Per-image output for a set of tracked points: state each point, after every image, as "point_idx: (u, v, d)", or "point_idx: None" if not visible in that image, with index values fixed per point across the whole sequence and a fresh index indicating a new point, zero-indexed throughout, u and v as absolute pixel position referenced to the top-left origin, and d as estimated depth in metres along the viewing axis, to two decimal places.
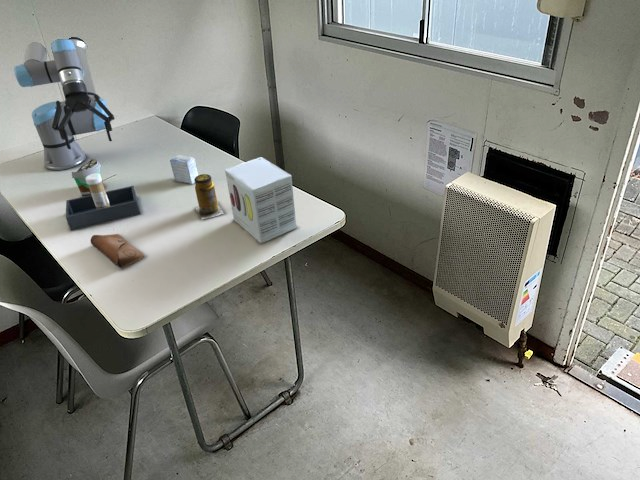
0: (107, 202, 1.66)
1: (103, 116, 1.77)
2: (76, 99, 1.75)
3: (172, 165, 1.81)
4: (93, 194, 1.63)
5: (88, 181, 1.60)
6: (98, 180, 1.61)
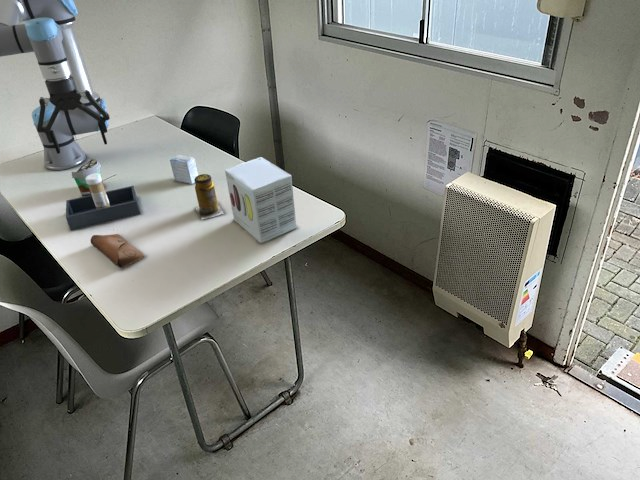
0: (107, 202, 1.66)
1: (97, 118, 1.52)
2: (64, 97, 1.46)
3: (172, 165, 1.81)
4: (93, 194, 1.63)
5: (88, 181, 1.60)
6: (98, 180, 1.61)
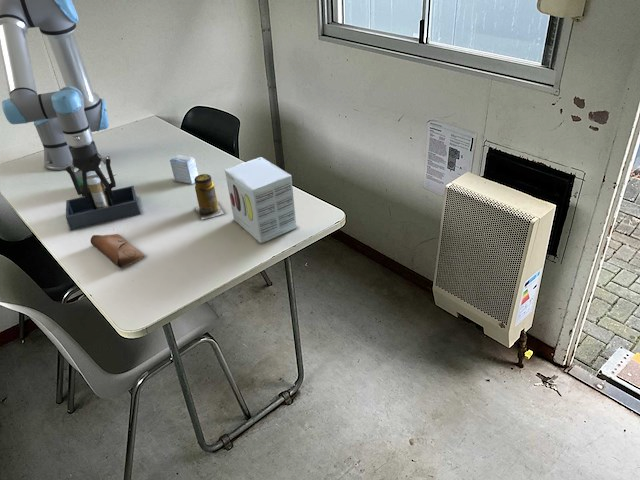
0: (107, 202, 1.66)
1: (106, 185, 1.63)
2: (86, 160, 1.57)
3: (172, 165, 1.81)
4: (93, 194, 1.63)
5: (88, 181, 1.60)
6: (98, 180, 1.61)
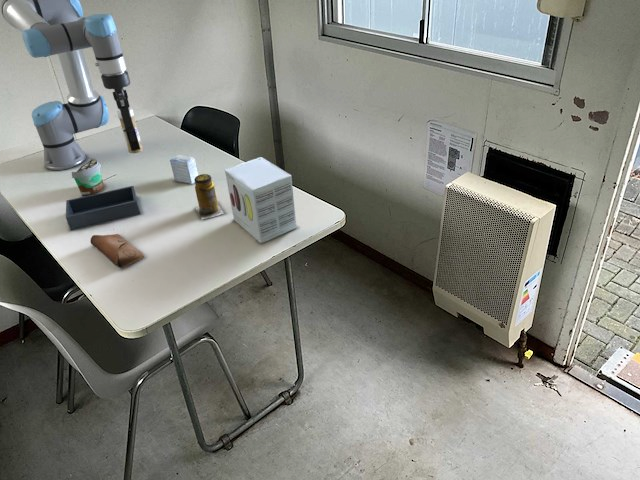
0: None
1: None
2: (115, 91, 1.51)
3: (172, 165, 1.81)
4: None
5: None
6: (120, 115, 1.53)
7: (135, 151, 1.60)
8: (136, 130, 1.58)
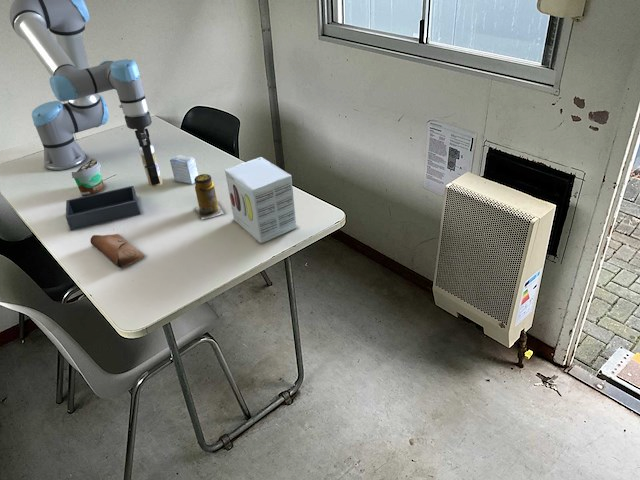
0: None
1: None
2: (137, 130, 1.59)
3: (172, 165, 1.81)
4: None
5: None
6: (141, 152, 1.62)
7: (155, 185, 1.68)
8: (156, 165, 1.66)
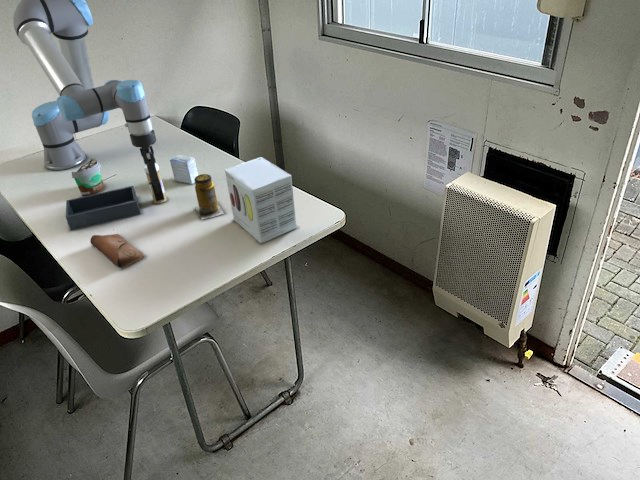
0: None
1: None
2: (142, 148, 1.63)
3: (172, 165, 1.81)
4: None
5: None
6: (146, 170, 1.65)
7: (160, 202, 1.72)
8: (161, 183, 1.70)
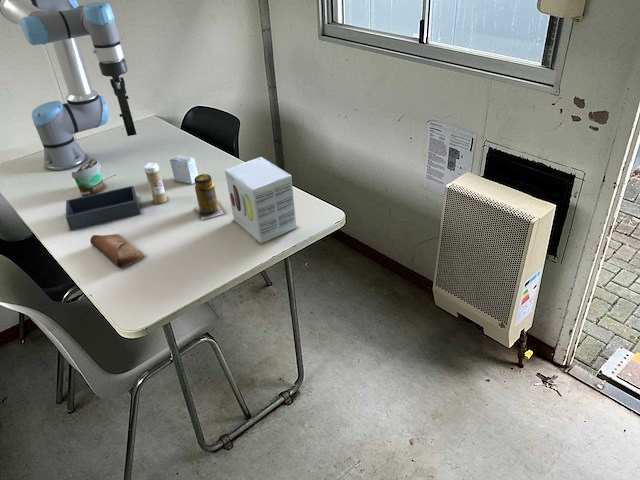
0: (154, 193, 1.70)
1: None
2: (112, 78, 1.54)
3: (172, 165, 1.81)
4: None
5: None
6: (146, 170, 1.65)
7: (160, 202, 1.72)
8: (161, 183, 1.70)
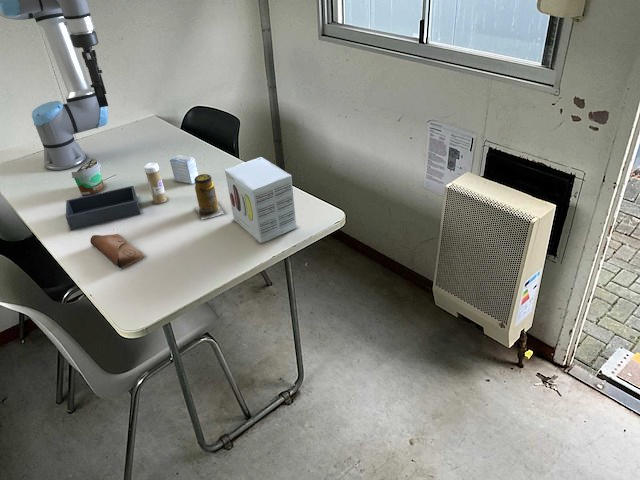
0: (154, 193, 1.70)
1: None
2: (84, 50, 1.58)
3: (172, 165, 1.81)
4: None
5: None
6: (146, 170, 1.65)
7: (160, 202, 1.72)
8: (161, 183, 1.70)
